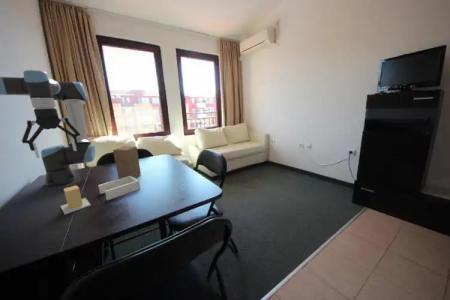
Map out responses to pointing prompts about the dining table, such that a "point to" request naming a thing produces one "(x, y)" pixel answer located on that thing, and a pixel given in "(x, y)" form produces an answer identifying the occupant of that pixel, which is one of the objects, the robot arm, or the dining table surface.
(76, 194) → the block
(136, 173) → the wooden block
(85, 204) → the tile
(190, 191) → the dining table surface
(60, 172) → the robot arm
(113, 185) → the white u-shaped frame
